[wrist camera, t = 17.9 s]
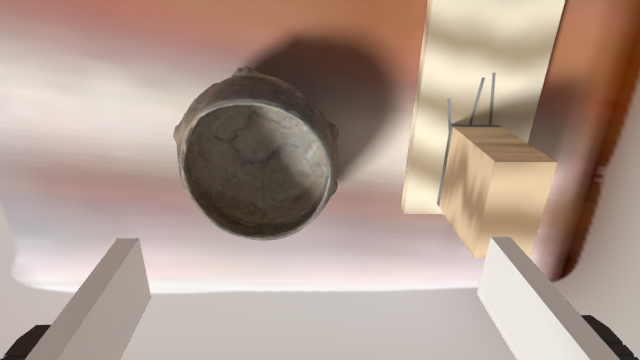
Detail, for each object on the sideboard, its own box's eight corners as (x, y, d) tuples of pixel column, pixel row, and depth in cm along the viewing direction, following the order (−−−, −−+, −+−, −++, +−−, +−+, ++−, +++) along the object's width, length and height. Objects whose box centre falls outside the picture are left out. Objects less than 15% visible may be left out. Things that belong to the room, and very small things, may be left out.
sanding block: (450, 124, 39) (495, 161, 30) (498, 124, 39) (558, 162, 30) (436, 203, 43) (473, 257, 34) (481, 203, 43) (529, 257, 34)
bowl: (254, 33, 36) (239, 44, 27) (366, 141, 41) (385, 181, 32) (165, 137, 40) (125, 177, 31) (277, 224, 45) (272, 281, 36)
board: (431, -30, 35) (437, -32, 33) (561, -26, 35) (572, -27, 34) (401, 207, 45) (404, 213, 43) (502, 207, 45) (509, 213, 44)
